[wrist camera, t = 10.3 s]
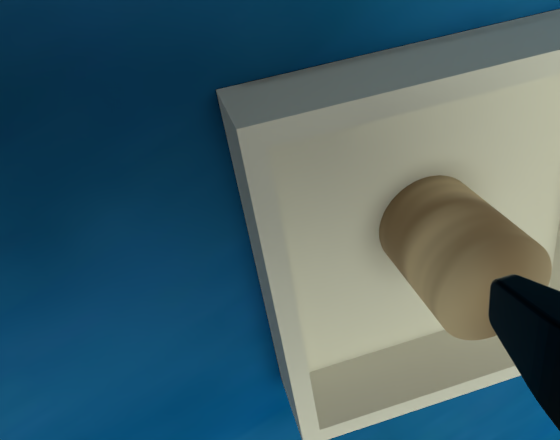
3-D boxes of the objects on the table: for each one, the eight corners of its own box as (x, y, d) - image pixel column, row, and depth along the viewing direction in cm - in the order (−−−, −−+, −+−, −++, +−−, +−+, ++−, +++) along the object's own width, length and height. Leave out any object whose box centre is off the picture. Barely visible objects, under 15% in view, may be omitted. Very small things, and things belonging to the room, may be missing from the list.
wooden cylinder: (381, 276, 24) (437, 354, 20) (375, 191, 21) (438, 259, 17) (471, 249, 24) (544, 319, 20) (475, 163, 22) (558, 222, 18)
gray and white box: (281, 379, 27) (304, 447, 23) (215, 89, 19) (236, 129, 15) (549, 295, 28) (606, 346, 25) (594, 0, 21) (686, 18, 17)
